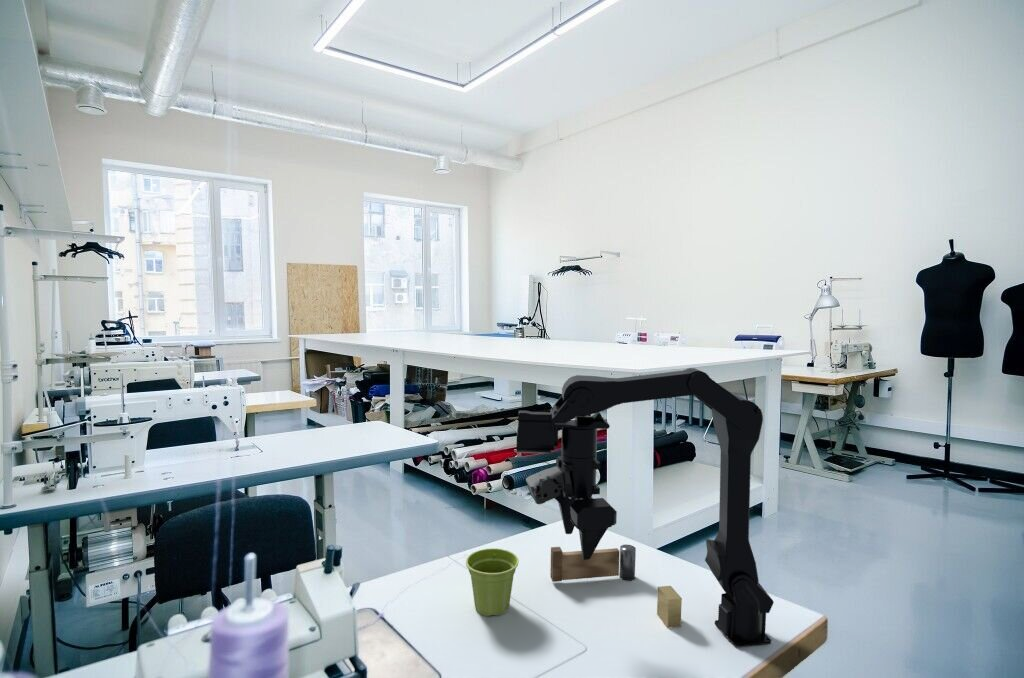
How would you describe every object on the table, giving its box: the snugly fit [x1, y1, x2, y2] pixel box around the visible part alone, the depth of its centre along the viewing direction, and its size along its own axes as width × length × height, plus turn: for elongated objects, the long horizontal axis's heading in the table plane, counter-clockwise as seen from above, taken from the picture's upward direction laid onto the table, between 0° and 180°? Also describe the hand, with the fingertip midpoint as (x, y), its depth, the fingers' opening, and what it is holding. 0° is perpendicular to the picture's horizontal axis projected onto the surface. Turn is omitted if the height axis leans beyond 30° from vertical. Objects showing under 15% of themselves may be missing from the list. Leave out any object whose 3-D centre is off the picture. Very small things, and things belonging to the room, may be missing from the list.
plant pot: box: [465, 547, 520, 617], centre depth 94 cm, size 9×9×9 cm
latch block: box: [656, 585, 683, 629], centre depth 91 cm, size 2×4×5 cm, turn 10°
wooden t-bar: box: [549, 546, 620, 583], centre depth 104 cm, size 14×2×6 cm, turn 100°
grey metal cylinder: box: [619, 544, 637, 582], centre depth 105 cm, size 3×3×6 cm
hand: (577, 545), depth 88 cm, fingers open, 9 cm apart
